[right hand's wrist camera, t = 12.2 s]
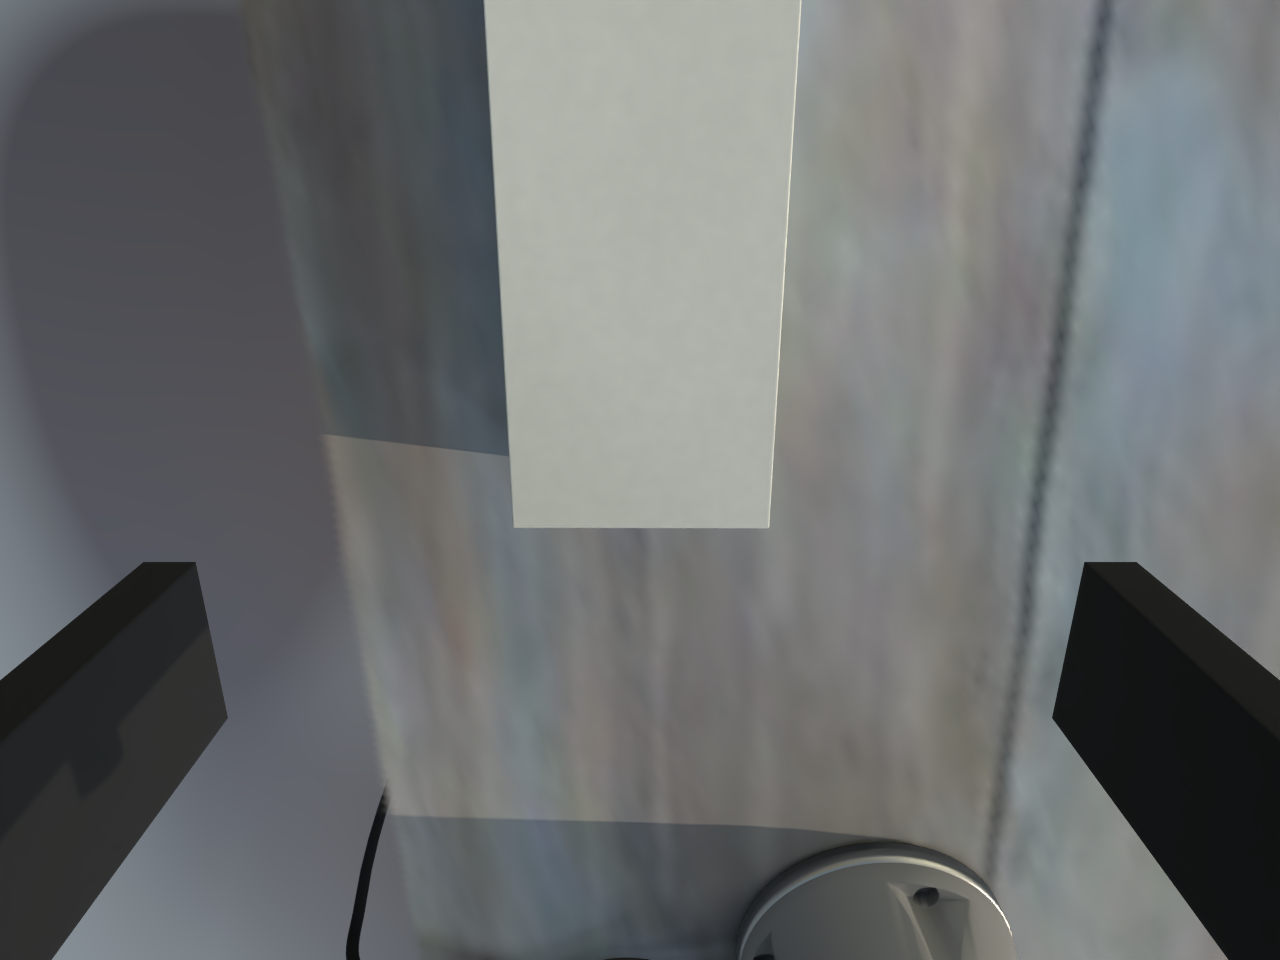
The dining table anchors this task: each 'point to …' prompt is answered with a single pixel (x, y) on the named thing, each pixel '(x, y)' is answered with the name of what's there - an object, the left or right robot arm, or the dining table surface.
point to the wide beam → (641, 254)
